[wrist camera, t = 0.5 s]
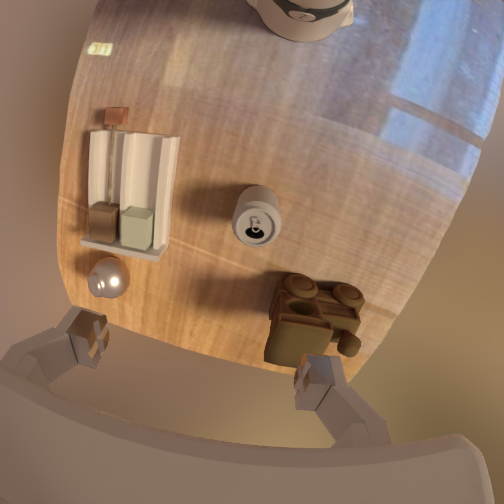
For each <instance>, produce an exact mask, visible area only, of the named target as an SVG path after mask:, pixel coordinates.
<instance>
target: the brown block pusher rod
mask: <svg viewBox="0 0 504 504" xmlns="http://www.w3.org/2000/svg"><path fill="white" fill-rule="evenodd" d="M127 115H128V108H123V107H112V108H106V111H105V119H104V124H107V125H112V133H111V144H110V157H109V174H108V202H104V201H100V202H99V203H97V204H96V205H94V206H93V207H91V208H90V209H88V214H89V238H90V239H94V240H98V241H103V242H108V243H112V242H113V241H114V240H115V239H116V238H117V237H118V236H119V235H120V204H117V203H111V188H112V166H113V152H114V140H115V130H116V125H119V124H125V123H127Z"/></svg>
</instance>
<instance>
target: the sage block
mask: <svg viewBox="0 0 504 504" xmlns="http://www.w3.org/2000/svg"><path fill="white" fill-rule="evenodd" d="M154 224H155V210H152V209H146V208H141V207H135V206H132V207H131V208H130V209H128V210H127V211H126V212H125V213H124V214H122V217H121V245H122V246H127V247H132V248H137V249H141V250H146V249H147V248H148V247H149V246H150V244H151V243H152V242H153V240H154Z"/></svg>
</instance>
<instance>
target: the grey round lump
mask: <svg viewBox="0 0 504 504" xmlns="http://www.w3.org/2000/svg"><path fill="white" fill-rule="evenodd" d="M87 281H88V287H89V290H90V292H91V293H92V294H93V295H94V296H95V297H105V298H117V297H119V296H121V295H122V294H124V293H125V291H126V290H127V288H128V286H129V283H130V273H129V270H128V268H127V266H126V265H125V263H124V262H122V261H121V260H120V259H118V258H115V257H106V258H103V259H101V260H99V261H98V262H97V263H96V264H95V265H94V267H93V269H92V270H91V271H90V274H89V276H88V278H87Z"/></svg>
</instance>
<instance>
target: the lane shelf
mask: <svg viewBox="0 0 504 504" xmlns="http://www.w3.org/2000/svg"><path fill="white" fill-rule="evenodd" d="M111 133H112V130H106V129H98V130H94V131H92V132H91V137H90V152H89V179H88V208H89V209H90V208H91V207H93V206H94V205H96V204H97V203H99V202H100V201H104V202H108V174H109V157H110V144H111ZM179 141H180V136H173V135H165V134H156V133H146V132H134V131H122V130H115V140H114V152H113V166H112V188H111V203H117V204H120V235H119V236H118V237H117V238H116V239H115V240H114V241H113V242H112V243H108V242H103V241H98V240H94V239H90V238H89V233H88V234H87V235H85V236H84V237H83V238H82V239H81V240H80V243H81V246H86V247H90V248H95V249H99V250H103V251H108V252H113V253H117V254H122V255H126V256H131V257H136V258H140V259H145V260H150V261H154V262H158V261H159V260H160V258H161V256H162V255H163V253H164V252H165V250H166V249H167V247H168V245H169V232H170V220H171V209H172V198H173V189H174V180H175V172H176V163H177V156H178V148H179ZM132 206H135V207H141V208H146V209H152V210H155V224H154V240H153V242H152V243H151V244H150V246H149V247H148V248H147V249H146V250H141V249H137V248H132V247H127V246H122V245H121V217H122V214H124V213H125V212H126V211H127V210H128V209H130V208H131V207H132Z"/></svg>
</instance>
